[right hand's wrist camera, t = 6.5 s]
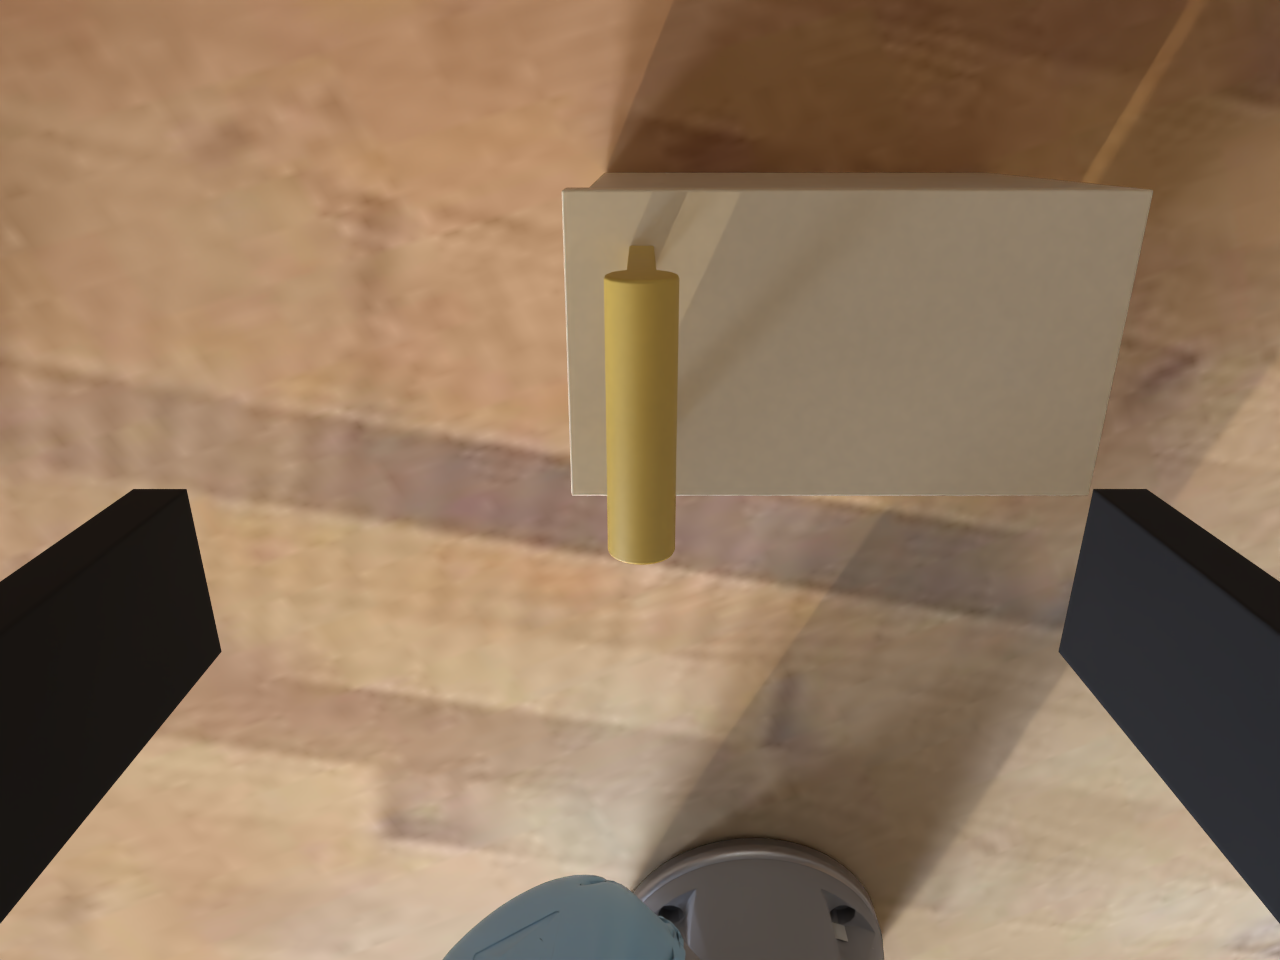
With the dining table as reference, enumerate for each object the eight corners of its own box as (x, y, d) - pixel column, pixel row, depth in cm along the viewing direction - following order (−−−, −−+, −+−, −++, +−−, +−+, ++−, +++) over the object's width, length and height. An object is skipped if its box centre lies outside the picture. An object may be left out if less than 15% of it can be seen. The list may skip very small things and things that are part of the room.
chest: (606, 390, 38) (594, 482, 28) (603, 172, 35) (587, 187, 25) (956, 390, 38) (1072, 482, 28) (988, 172, 35) (1132, 187, 25)
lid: (573, 483, 28) (547, 616, 20) (564, 187, 25) (529, 210, 17) (1073, 483, 28) (1239, 617, 20) (1133, 187, 24) (1361, 210, 17)
